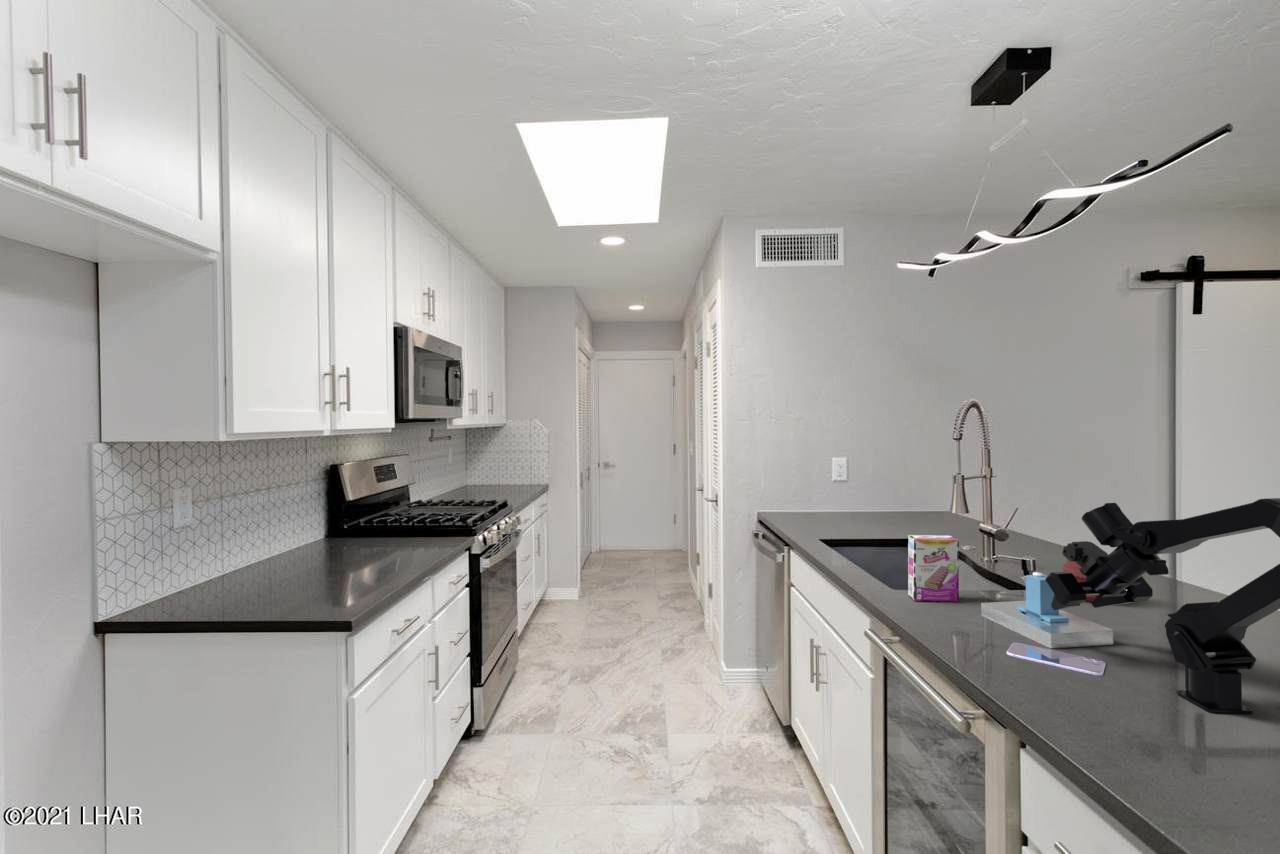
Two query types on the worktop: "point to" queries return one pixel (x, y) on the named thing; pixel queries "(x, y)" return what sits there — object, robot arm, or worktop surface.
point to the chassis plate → (1048, 626)
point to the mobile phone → (1057, 658)
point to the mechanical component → (1077, 576)
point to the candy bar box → (933, 568)
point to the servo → (1040, 600)
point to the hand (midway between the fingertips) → (1073, 606)
